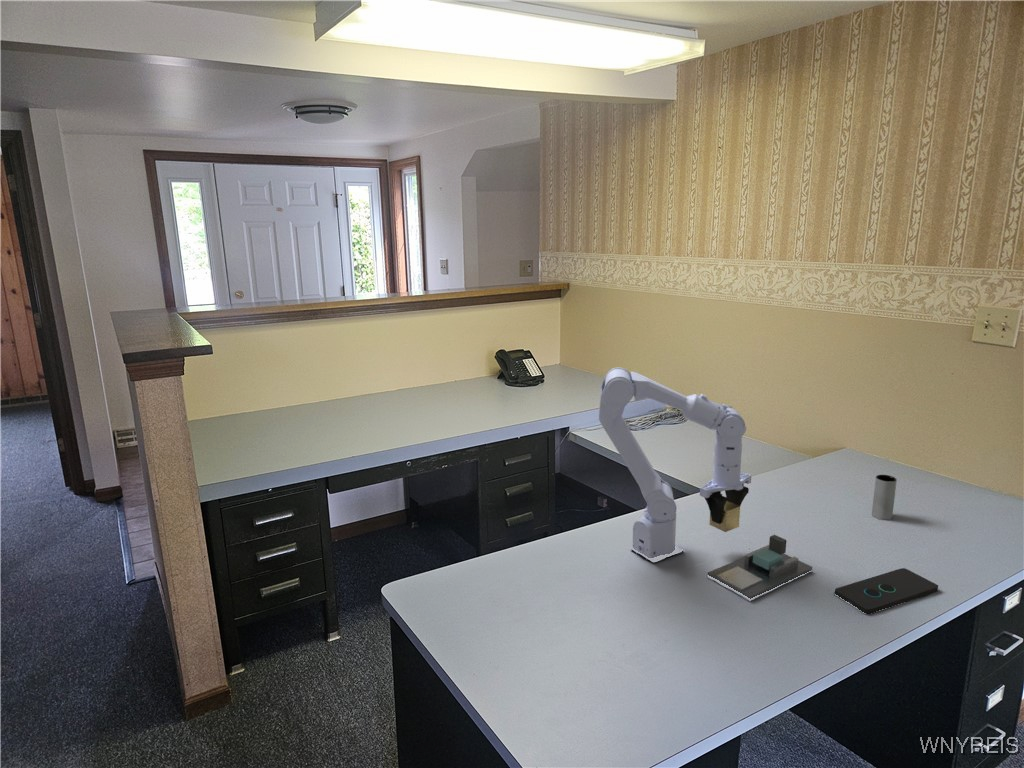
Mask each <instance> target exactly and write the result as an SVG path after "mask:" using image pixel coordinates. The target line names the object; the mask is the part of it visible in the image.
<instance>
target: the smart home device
mask: <svg viewBox="0 0 1024 768" xmlns="http://www.w3.org/2000/svg"><path fill="white" fill-rule="evenodd" d="M938 590H939V585H938V584H937V583H934V582H933V581H931V580H930V579H927V578H925V577H923V576H921V575H919V574H917V573H915V572H913V571H911V570H909V569H907V568H905V567H904V568H899V569H895V570H891V571H888V572H885V573H881V574H879V575H876V576H872V577H868V578H866V579H862V580H859V581H856V582H852V583H849V584H846V585H843V586H842V585H841V586H840V587H836V588H835V589H834V593H835V594H836V595H838V596H839V597H841V598H842V599H844V600H845V601H847V602H849V603H850V604H852V605H853V606H855V607H857V608H858V609H859V610H861V611H862V612H864V613H866V614H865V615H872V614H875V613H877V612H876V611H878V612H880V611H879V610H881V611H883V610H882V609H884V610H886V609H885V608H887V609H889V607H890V608H893V607H895V605H896V606H898V604H899V605H901V603H902V604H905V603H908V602H911V601H915V600H917V599H919V598H924V597H926V596H929V595H931V594H935V593H937V592H938ZM845 601H844V602H845ZM904 602H905V603H904ZM850 604H849V605H850ZM853 606H852V607H853ZM892 606H893V607H892ZM858 609H857V610H858ZM859 610H858V611H859ZM861 611H860V612H861ZM862 612H861V613H862ZM874 612H875V613H874ZM864 613H863V614H864ZM871 613H872V614H871Z"/></svg>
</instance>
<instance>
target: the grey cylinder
mask: <svg viewBox="0 0 1024 768" xmlns="http://www.w3.org/2000/svg"><path fill="white" fill-rule="evenodd" d="M896 489H897V478H896V477H894V476H892V475H888V474H877V475H875V481H874V491H873V498H872V505H871V506H872V508H871V509H872V510H871V516H872V517H874V518H876V519H879V520H886V521H887V520H891V519H893V515H894V505H895V496H896Z"/></svg>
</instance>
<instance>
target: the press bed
mask: <svg viewBox="0 0 1024 768" xmlns="http://www.w3.org/2000/svg"><path fill="white" fill-rule="evenodd" d="M766 548H767V549H769V544H767V545H765V546H762V547H760V548H758V549H756V550H754V551H750V552H749V553H747V554H744V556H743V557H741V558H738V559H736V560H734V561H731V562H729V563H726V564H725V565H723V566H720V567H717V568H716V569H712V570H711V571H709V572H707V575H709V576H711V577H713V578H715V579H717V580H719V581H720V582H722V583H724V584H726V585H728V586H729V587H731V588H733V589H734V590H736V591H738V592H740V593H742V594H743V595H745V596H747V597H748V598H750V599H751V598H753V597H755V596H757V595H760V594H762V593H764V592H766V591H769V590H771V589H773V588H775V587H777V586H779V585H781V584H783V583H786V582H788V581H789V580H792V579H794V578H796V577H798V576H800V575H802V574H805V573H807V572H809V571H811V570H812V571H813V566H812V565H809V564H807V563H805V562H803V561H801V560H799V557H796V556H790V555H788V554H785V553H784V554H781V555H782V556H783V560H782V562H781V563H779V564H777V565H774V566H772V567H770V570H767V569H765V568H763V567H761V566H759V565H757V564H755V563H753V554H755V553H757V552H759V551H762V550H764V549H766Z"/></svg>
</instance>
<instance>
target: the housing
mask: <svg viewBox="0 0 1024 768" xmlns="http://www.w3.org/2000/svg"><path fill="white" fill-rule="evenodd" d="M740 514H741V506H738V505H736V504H734V503H731V502H729V501H726V504H725V506H724V510H723V517H722V522H721V523H720V524H718V523H715V522H713V521H712V518H711V514H710V513H709V526H711V527H714V528H716V529H718V530H719V531H721V532H724V533H727V532H729V531H731V530H735V529H737V528H740V516H741V515H740Z"/></svg>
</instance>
